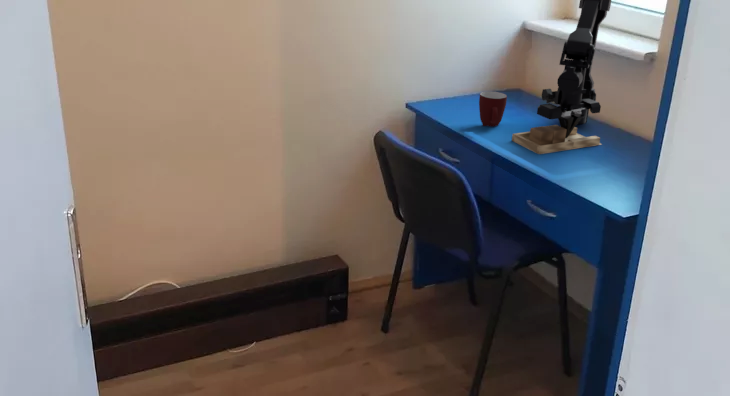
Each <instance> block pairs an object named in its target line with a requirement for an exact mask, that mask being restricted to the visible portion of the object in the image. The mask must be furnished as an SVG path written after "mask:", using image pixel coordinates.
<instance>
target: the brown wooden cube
mask: <svg viewBox="0 0 730 396" xmlns="http://www.w3.org/2000/svg"><path fill="white" fill-rule="evenodd" d="M529 132H530V137H529V140H530V141H532V142H534V143H536V144H538V145H540V146H541V145H548V144H552V140H553V133H554V131H553V130H551V129H548V128H546V127H544V125H542V126H535V127H530V130H529Z"/></svg>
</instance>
